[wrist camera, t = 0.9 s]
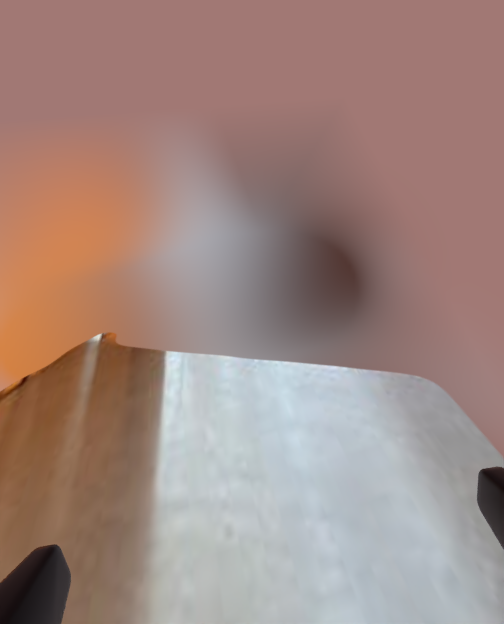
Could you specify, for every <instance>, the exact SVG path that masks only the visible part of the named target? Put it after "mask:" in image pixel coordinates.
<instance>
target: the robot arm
mask: <svg viewBox="0 0 504 624" xmlns="http://www.w3.org/2000/svg"><path fill="white" fill-rule="evenodd" d="M477 502H478V506H479V508H480V510H481V512H482V514H483V516H484V517H485V519H486V521H487V522H488V524H489V526H490V527H491V529H492V531H493V532H494V534H495V536H496V538H497V539H498V541H499V543H500V544H501V546H502V548H503V549H504V468H502V467H492V468H486V469H482V470H481V471H480V472H479V475H478V491H477ZM70 582H71V574H70V570H69V567H68V565H67V563H66V560H65V558H64V556H63V553H62V551H61V548H60V547H59V546H58V545H48V546H43V547H38V548H36V549H35V550H34V551H32V552H31V553H30V554H29V555H28V556H27V557H26V558H25V559H24V560H23V561H22V562H21V563H20V564H19V565H18V566H17V567H16V568H15V569H14V570H13V571H12V572H11V573H10V574H9V575H8V576H7V577H6V578H5V579H4V580H3V581H2V582H1V583H0V624H61V622H62V618H63V614H64V609H65V605H66V601H67V597H68V592H69V588H70Z"/></svg>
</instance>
